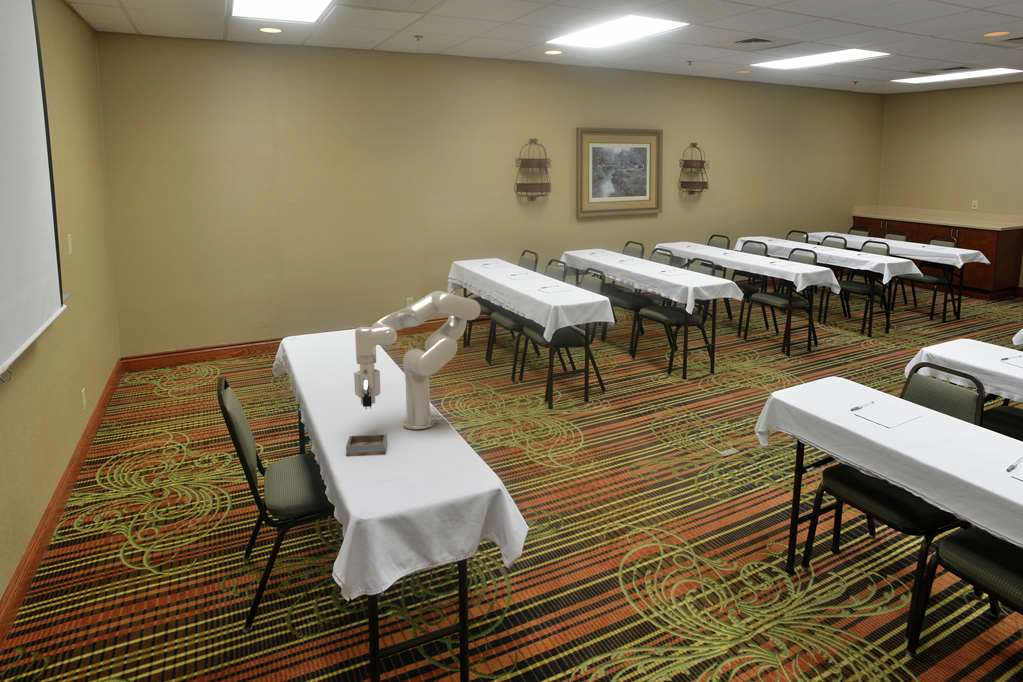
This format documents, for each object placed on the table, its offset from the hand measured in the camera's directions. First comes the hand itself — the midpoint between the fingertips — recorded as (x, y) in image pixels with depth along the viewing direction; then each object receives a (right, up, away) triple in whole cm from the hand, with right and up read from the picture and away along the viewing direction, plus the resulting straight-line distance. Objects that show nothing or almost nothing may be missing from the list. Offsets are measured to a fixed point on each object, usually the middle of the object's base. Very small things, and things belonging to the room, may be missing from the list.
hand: (368, 403), depth 257 cm
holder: (+2, -17, -9) cm, 19 cm away
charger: (0, -2, 0) cm, 2 cm away
